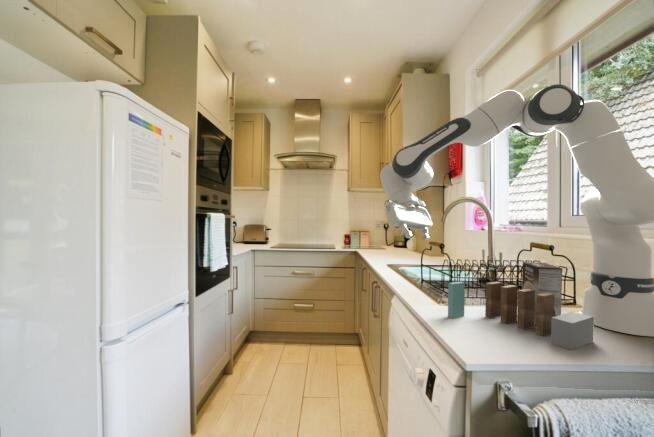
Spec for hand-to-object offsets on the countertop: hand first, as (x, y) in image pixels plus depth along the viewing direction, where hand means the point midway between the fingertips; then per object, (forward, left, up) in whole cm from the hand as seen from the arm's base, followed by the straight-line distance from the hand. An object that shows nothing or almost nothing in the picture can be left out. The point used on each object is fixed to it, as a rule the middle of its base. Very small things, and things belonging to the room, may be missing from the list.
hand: (418, 238), depth 92 cm
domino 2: (-14, +16, -22) cm, 31 cm away
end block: (-14, +36, -22) cm, 44 cm away
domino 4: (-14, +25, -22) cm, 37 cm away
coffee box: (-24, +24, -23) cm, 41 cm away
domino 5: (-14, +30, -22) cm, 40 cm away
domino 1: (-4, +12, -22) cm, 26 cm away
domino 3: (-14, +21, -22) cm, 34 cm away
